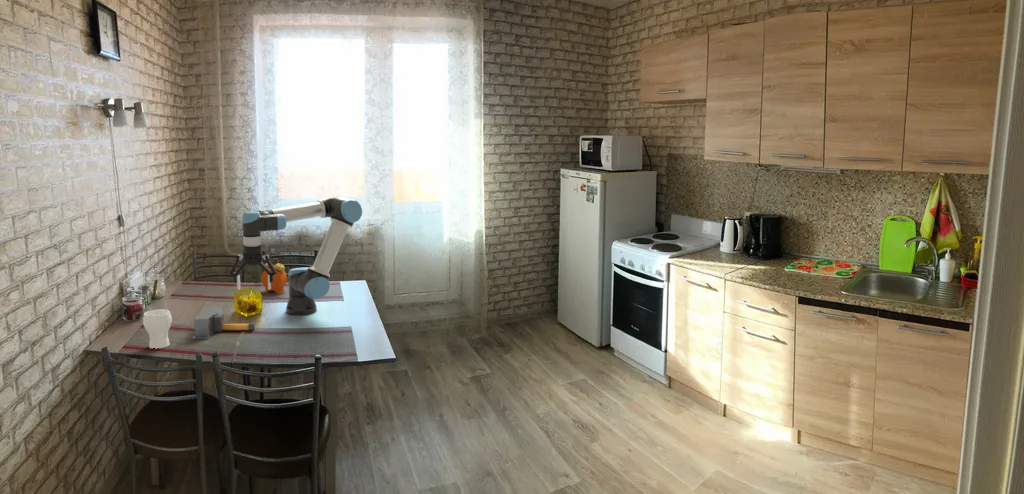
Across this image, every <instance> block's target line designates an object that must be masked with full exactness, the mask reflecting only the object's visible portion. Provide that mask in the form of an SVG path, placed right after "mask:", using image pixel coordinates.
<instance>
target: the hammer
mask: <svg viewBox="0 0 1024 494" xmlns="http://www.w3.org/2000/svg"><path fill="white" fill-rule="evenodd" d="M224 315H225V314H222V315H214V316H213V319H214V333H215V332H217V333H219V332H224V331H255V330H256V329H255V328H256V323H255V322H249V323H224V319H225V317H224Z"/></svg>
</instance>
